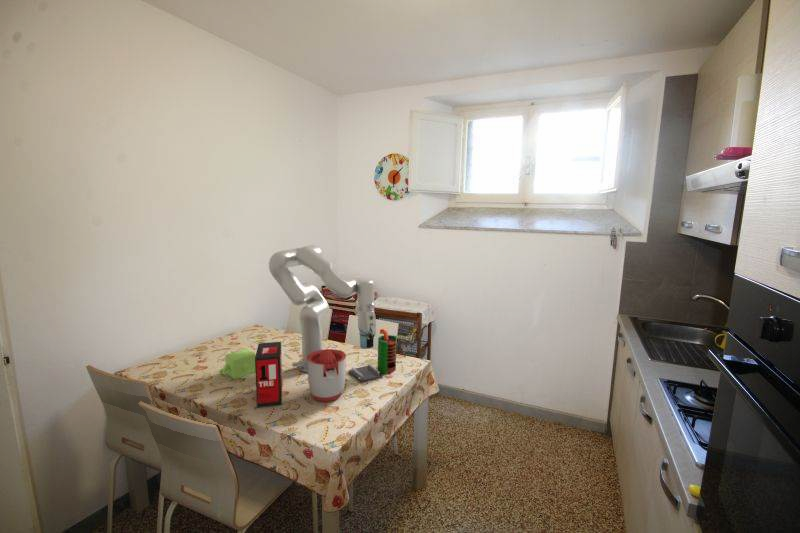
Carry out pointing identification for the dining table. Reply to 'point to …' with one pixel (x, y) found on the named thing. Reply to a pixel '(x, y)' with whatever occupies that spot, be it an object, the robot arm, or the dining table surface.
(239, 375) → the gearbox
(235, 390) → the dining table surface
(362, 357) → the dining table surface
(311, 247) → the robot arm
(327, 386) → the citrus juicer
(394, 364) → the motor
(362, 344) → the blue lidded jar
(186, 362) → the dining table surface
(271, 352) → the cleaning product box
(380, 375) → the mount plate
